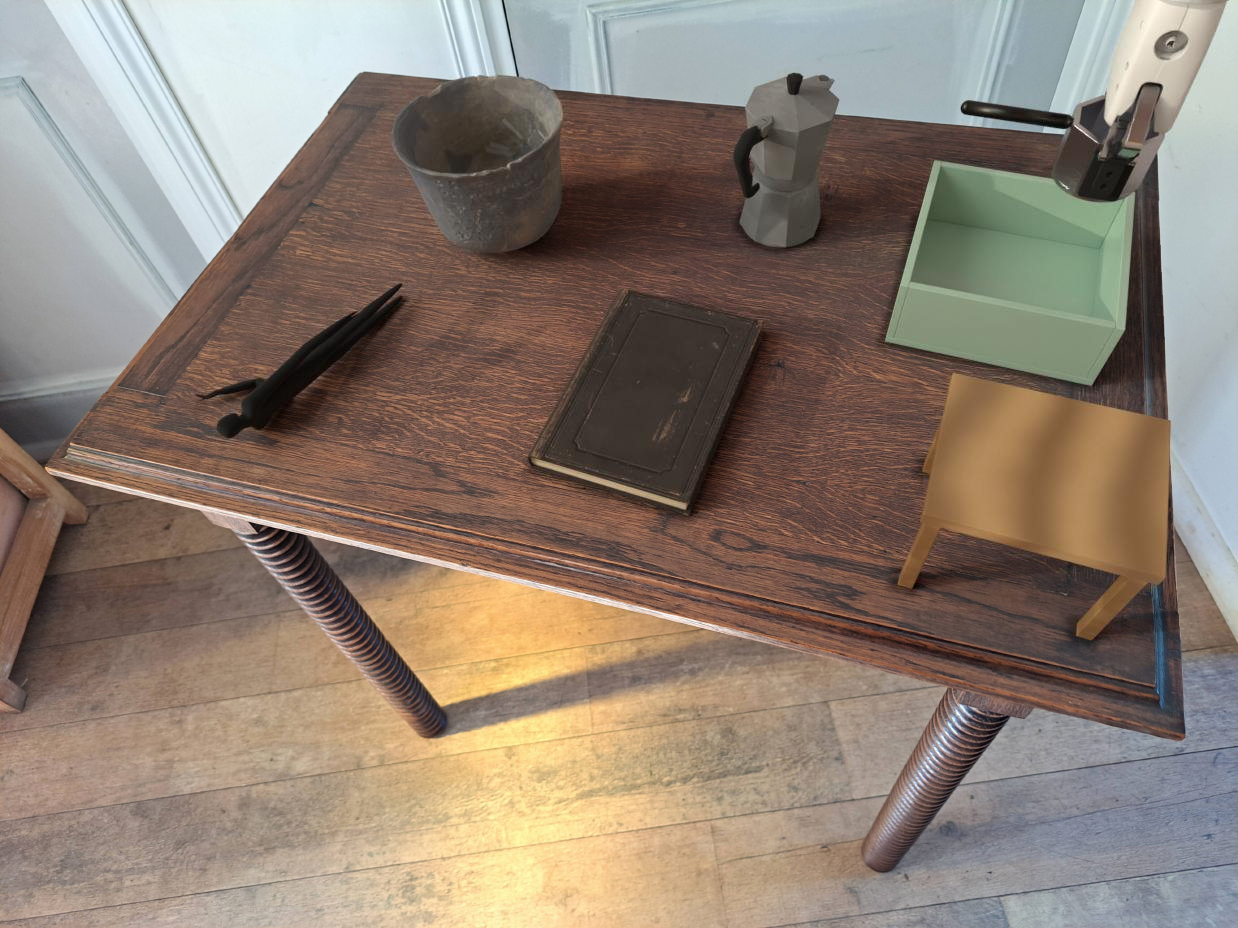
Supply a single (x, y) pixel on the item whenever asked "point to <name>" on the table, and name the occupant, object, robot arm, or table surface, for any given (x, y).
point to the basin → (1015, 274)
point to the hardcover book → (649, 400)
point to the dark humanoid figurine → (301, 368)
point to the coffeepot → (784, 158)
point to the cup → (485, 159)
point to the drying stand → (1050, 485)
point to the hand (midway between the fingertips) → (1100, 168)
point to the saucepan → (1075, 139)
